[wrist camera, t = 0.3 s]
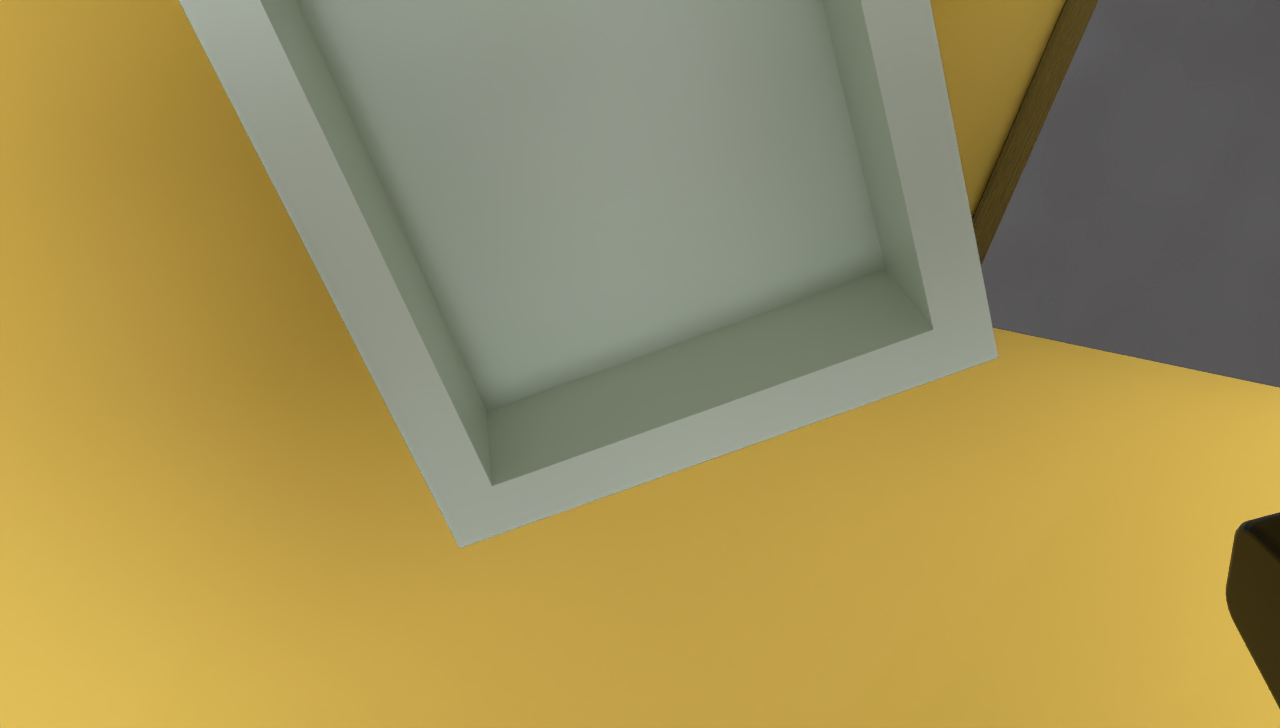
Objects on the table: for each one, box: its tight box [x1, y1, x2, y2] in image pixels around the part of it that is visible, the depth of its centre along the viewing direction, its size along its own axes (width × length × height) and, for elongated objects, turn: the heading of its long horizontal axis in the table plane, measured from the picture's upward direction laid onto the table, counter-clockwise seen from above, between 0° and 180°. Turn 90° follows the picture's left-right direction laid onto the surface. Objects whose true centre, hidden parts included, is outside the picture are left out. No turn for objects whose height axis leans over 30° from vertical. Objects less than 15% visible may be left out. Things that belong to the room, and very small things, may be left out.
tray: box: [179, 0, 998, 548], centre depth 20 cm, size 12×10×4 cm
